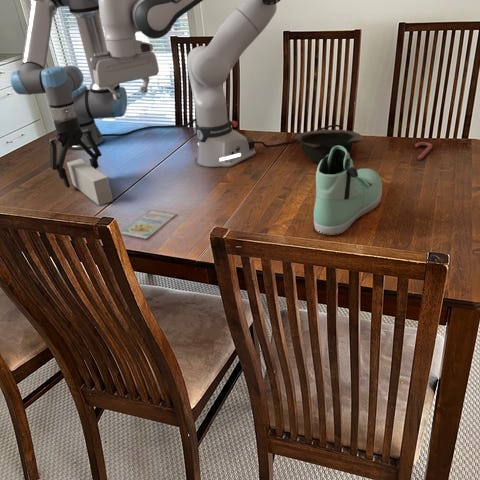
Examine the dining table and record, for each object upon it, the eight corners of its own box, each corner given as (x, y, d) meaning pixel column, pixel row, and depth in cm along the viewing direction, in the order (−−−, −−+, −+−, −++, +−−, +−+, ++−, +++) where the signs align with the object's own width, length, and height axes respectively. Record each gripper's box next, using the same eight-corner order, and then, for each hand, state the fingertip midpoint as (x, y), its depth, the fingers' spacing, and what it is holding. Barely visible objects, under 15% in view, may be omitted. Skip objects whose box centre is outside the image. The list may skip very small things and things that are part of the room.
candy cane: (403, 158, 167) (404, 154, 167) (417, 144, 177) (418, 140, 177) (421, 161, 164) (421, 157, 163) (434, 146, 174) (435, 142, 173)
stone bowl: (320, 174, 160) (319, 147, 155) (281, 157, 180) (279, 132, 176) (378, 156, 168) (378, 130, 164) (334, 141, 189) (333, 118, 184)
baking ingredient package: (120, 232, 135) (151, 209, 146) (120, 233, 135) (151, 210, 146) (145, 237, 131) (175, 214, 143) (146, 239, 131) (175, 215, 143)
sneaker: (389, 187, 148) (396, 123, 138) (356, 242, 123) (361, 168, 112) (346, 181, 154) (350, 119, 144) (306, 232, 129) (307, 161, 118)
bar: (72, 184, 168) (66, 162, 163) (85, 180, 170) (80, 158, 166) (99, 205, 152) (93, 181, 148) (113, 200, 155) (107, 176, 150)
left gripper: (34, 129, 146) (54, 195, 158) (102, 112, 157) (116, 174, 169) (26, 124, 151) (46, 188, 163) (93, 108, 162) (107, 169, 174)
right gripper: (93, 56, 134) (104, 105, 141) (157, 43, 144) (164, 90, 151) (84, 53, 138) (95, 101, 145) (147, 42, 148) (154, 87, 156)
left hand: (82, 181), depth 166 cm, fingers open, 10 cm apart
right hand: (131, 95), depth 148 cm, fingers open, 8 cm apart
